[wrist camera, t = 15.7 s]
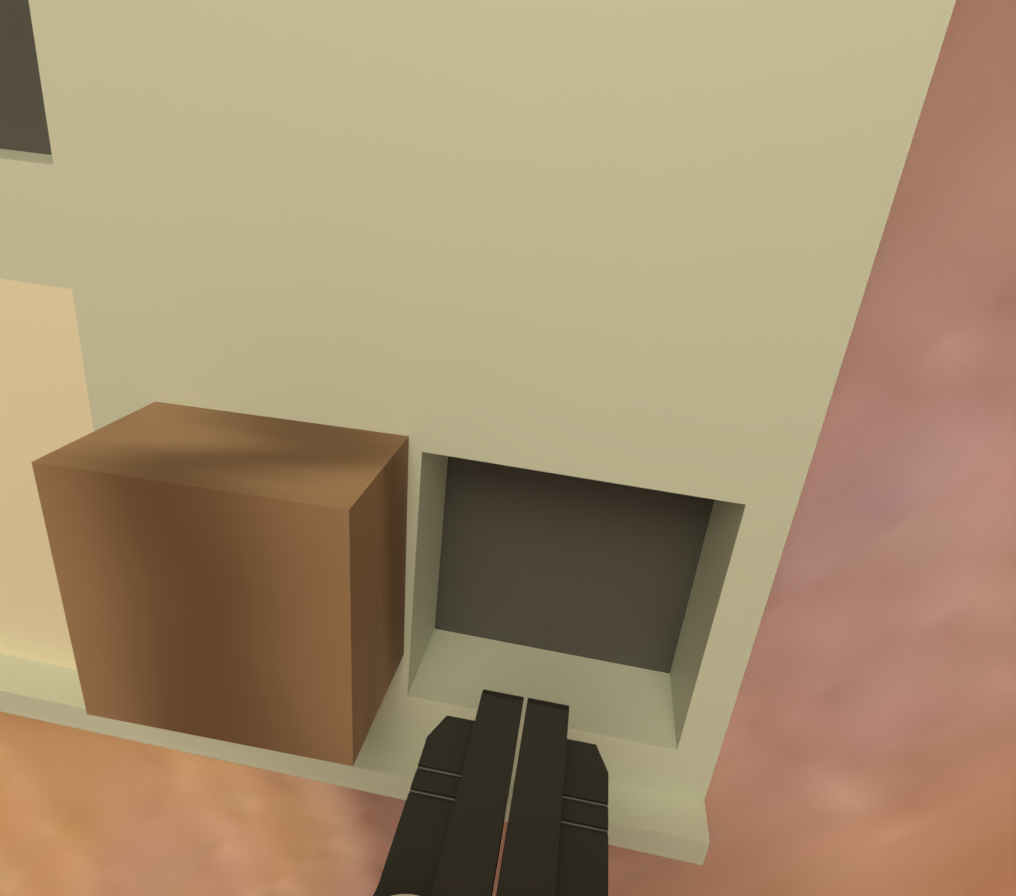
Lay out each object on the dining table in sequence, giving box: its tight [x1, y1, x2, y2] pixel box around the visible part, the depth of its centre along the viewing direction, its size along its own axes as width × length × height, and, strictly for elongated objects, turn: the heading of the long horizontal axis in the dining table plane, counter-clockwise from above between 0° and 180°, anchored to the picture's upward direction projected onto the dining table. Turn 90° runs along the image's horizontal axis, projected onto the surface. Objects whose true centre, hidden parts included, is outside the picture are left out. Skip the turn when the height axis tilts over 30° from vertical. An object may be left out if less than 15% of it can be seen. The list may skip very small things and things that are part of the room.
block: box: [32, 402, 409, 766], centre depth 14 cm, size 6×6×4 cm
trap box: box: [0, 0, 956, 865], centre depth 15 cm, size 25×24×5 cm
